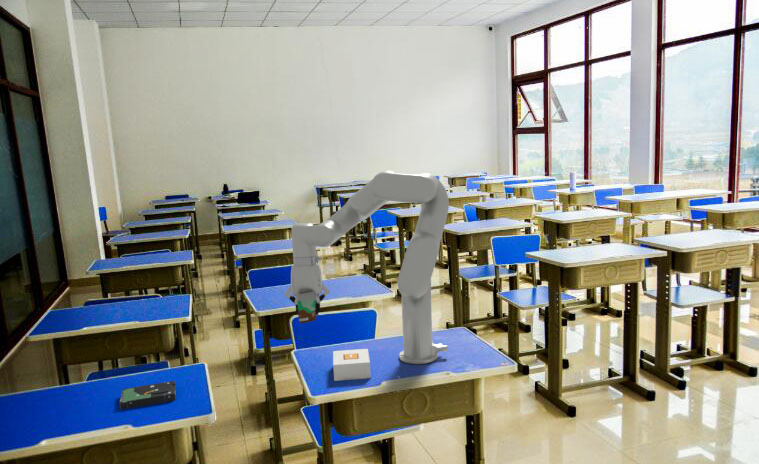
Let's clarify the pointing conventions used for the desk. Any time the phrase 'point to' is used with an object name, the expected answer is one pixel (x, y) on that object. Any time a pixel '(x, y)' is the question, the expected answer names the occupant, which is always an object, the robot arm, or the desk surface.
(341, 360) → the switch box
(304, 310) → the food container
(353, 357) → the orange small block
